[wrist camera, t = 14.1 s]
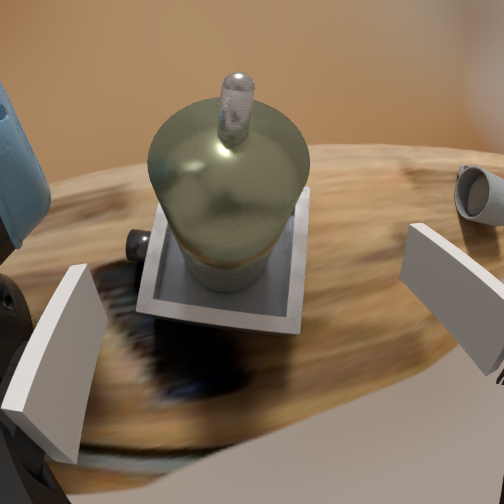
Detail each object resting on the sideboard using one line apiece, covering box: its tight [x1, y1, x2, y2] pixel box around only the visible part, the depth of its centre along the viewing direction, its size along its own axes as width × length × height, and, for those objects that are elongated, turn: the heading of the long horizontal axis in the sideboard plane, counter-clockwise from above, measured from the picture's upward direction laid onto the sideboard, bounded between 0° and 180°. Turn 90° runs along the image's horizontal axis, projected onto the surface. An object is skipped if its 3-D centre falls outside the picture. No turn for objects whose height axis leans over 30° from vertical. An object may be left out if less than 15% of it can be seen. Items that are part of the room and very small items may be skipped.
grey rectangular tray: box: [126, 186, 310, 336], centre depth 27 cm, size 16×13×6 cm
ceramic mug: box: [455, 165, 504, 226], centre depth 33 cm, size 11×8×8 cm
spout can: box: [147, 72, 310, 292], centre depth 18 cm, size 7×7×16 cm
